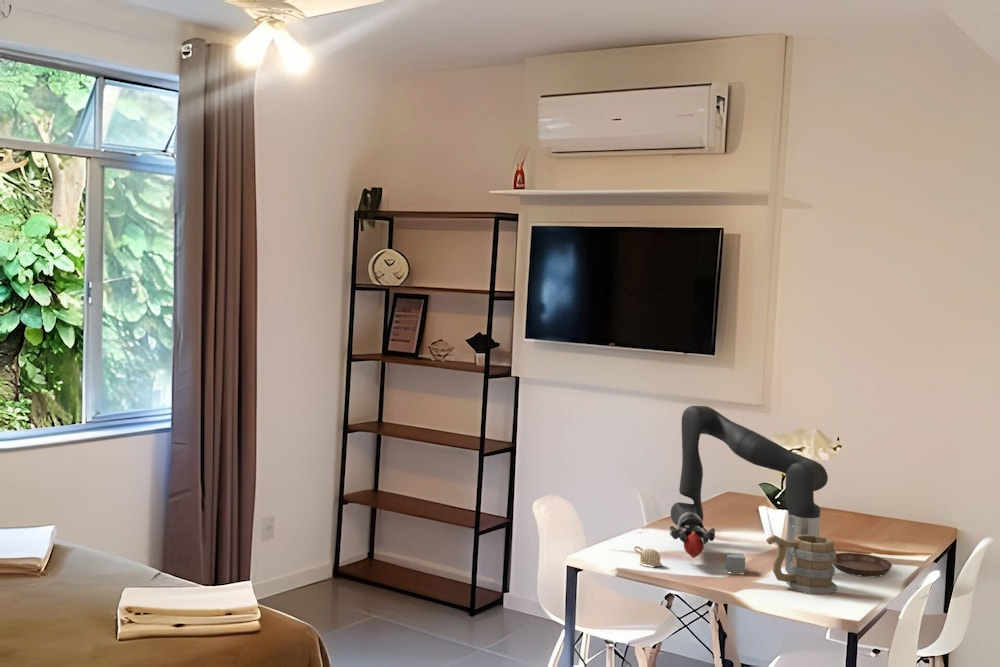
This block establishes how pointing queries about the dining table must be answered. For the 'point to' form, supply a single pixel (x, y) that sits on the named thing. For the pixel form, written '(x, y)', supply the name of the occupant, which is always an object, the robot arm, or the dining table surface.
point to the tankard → (807, 563)
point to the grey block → (735, 562)
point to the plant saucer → (861, 564)
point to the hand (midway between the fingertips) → (694, 539)
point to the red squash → (693, 545)
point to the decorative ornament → (649, 556)
